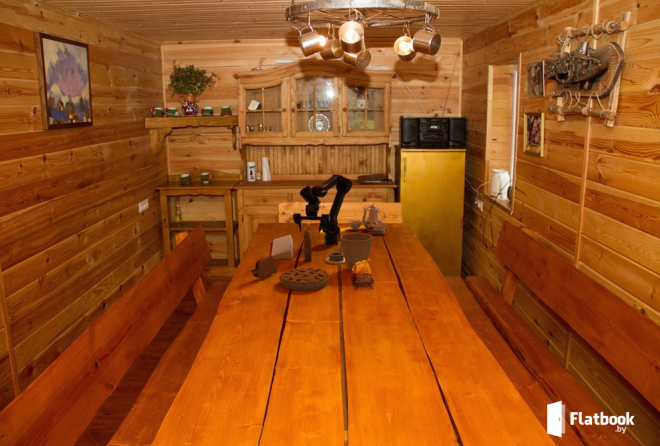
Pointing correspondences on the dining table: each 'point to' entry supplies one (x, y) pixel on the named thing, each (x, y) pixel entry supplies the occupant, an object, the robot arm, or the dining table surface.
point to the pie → (304, 278)
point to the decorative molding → (283, 247)
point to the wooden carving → (265, 268)
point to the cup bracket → (336, 258)
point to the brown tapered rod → (307, 246)
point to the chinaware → (370, 221)
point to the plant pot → (355, 247)
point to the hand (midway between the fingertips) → (309, 232)
